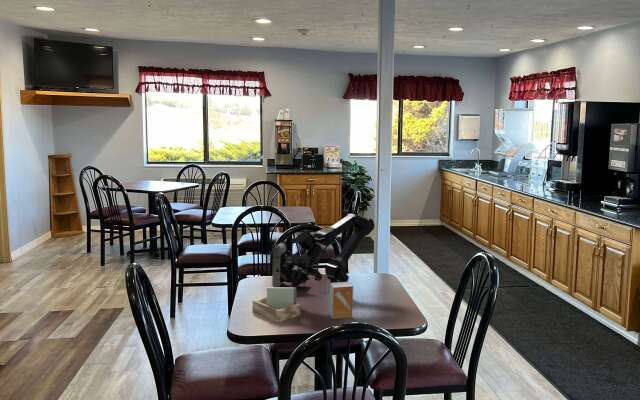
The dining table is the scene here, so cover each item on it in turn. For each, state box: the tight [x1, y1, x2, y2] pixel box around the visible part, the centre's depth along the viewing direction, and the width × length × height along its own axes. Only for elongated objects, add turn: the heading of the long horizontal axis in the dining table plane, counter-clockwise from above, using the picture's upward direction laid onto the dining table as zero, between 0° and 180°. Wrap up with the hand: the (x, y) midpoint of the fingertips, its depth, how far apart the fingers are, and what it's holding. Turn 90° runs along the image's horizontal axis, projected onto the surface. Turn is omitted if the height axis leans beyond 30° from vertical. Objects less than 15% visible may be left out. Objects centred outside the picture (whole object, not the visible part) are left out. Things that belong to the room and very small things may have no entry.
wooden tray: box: [251, 296, 302, 323], centre depth 219 cm, size 12×16×4 cm
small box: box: [328, 281, 354, 320], centre depth 216 cm, size 8×6×13 cm
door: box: [266, 286, 297, 310], centre depth 217 cm, size 1×12×10 cm, turn 91°
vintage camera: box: [271, 241, 308, 287], centre depth 252 cm, size 10×15×20 cm, turn 78°
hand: (291, 287), depth 225 cm, fingers closed
